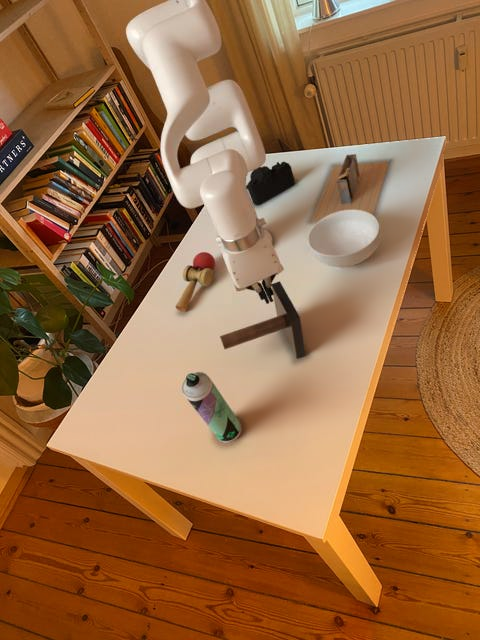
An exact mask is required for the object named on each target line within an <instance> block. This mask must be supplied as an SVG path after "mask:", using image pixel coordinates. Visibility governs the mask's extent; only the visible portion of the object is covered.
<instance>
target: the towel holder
mask: <svg viewBox="0 0 480 640" xmlns="http://www.w3.org/2000/svg"><path fill="white" fill-rule="evenodd" d="M271 288H272V291H273V293H274V295H272V297H273V302H274V307H275V313H276V316H274V317H271V318H269V319H265V320H263V321H259V322H257V323H253V324H252V325H251V324H250V325H249V326H246V327H243V328H239V329H237V330H234V331H231V332H228V333H225V334H223V335H220V336H219V338H220V342H221V344H222V346H223V349H224V350H227V349H230V348H233V347H236V346H239V345H242V344H245V343H247V342H248V343H249V342H250V341H254V340H257V339H259V338H262V337H265V336H268V335H270V334H274V333H276V332H279V331H282V333H283V334H284V336H285V338H286V341H287V342H288V344H289V346H290V348H291V350H292V353H293V354H294V356H295V358H296V359H301V358H303V357H306V349H305V341H304V333H303V327H302V320H301V316H300V314H299V313H298V311H297V309H296V307H295V306H294V304H293V302H292V300H291V298H290V297H289V295H288V293H287V291H286V289H285V288H284V286H283V284H282V282H281V281H276V282H272V286H271Z"/></svg>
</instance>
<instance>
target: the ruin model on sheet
mask: <svg viewBox="0 0 480 640" xmlns="http://www.w3.org/2000/svg"><path fill="white" fill-rule="evenodd" d="M390 162H391V161H390V160H386V161H374V162H373V161H372V162H360V163H358V157H357V153H353V154H346V155H345V158H344V160H343V163H342V164H335V165H333V166H332V168H331V171H330V174H329V176H328V178H327V180H326V184H325V186H324V188H323V191H322V193H321V196H320V199H319V201H318V203H317V206H316V208H315V211H314V213H313V217H312V219H311V222H318V221H320V220H321V219H322V218H324V217H326V216H328V215H330V214H332V213H335V212H339V211H343V210H362V211H366V212H369V213H370V214H372V215H373V216H375V211H376V208H377V205H378V201H379V198H380V195H381V191H382V188H383V185H384V181H385V179H386V175H387V172H388V169H389V165H390Z"/></svg>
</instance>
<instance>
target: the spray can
mask: <svg viewBox="0 0 480 640" xmlns="http://www.w3.org/2000/svg"><path fill="white" fill-rule="evenodd" d="M181 391H182V394H183V395H184V397H185V398H186V400H187V401H188V403H189V404H190V405H191V406H192V407H193V408H194V410H195V412H197V414H198V415H199V416H200V418H201V419H202V420H203V421H204V422H205V424H206V425H207V427H208V428H209V429H210V430H211V432H212V433H213V434H214V436H215V437H216V438H217V439H218V440H219V441H220V442H221V443H225V444H228V443H233V442H234V441H236V440H237V439H239V437H240V435H241V432H242V429H243V428H242V427H243V426H242V424H241V422H240V420H239V418H238V417H237V416H236V414H235V413H234V411H233V410H232V408H231V407H230V405H229V404H228V402H227V401H226V399H225V398H224V396H223V395H222V394H221V392H220V390H219V389H218V387H217V386H216V385H215V383H214V382H213V380H212V379H211V377H210V376H209V375H208V374H207V373H205V372H202V371H197V372H191V373H188V374H187V375H186V377H185V379H184V380H183V382H182V385H181Z"/></svg>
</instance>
